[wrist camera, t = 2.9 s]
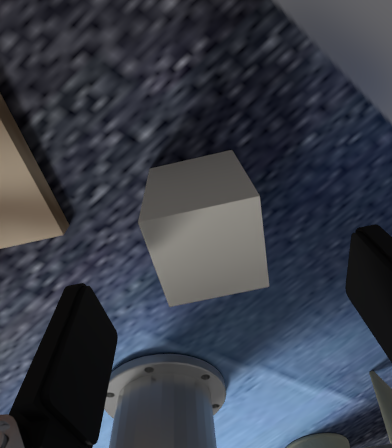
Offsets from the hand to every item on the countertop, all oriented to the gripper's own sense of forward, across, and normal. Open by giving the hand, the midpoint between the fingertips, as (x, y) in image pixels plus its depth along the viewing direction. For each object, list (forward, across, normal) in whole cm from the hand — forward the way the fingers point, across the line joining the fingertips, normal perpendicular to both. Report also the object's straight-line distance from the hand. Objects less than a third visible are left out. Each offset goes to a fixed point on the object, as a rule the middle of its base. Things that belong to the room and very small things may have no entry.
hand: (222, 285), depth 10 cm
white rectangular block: (+9, 0, +1) cm, 9 cm away
